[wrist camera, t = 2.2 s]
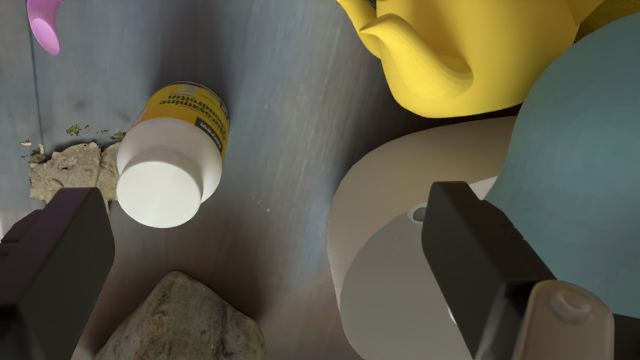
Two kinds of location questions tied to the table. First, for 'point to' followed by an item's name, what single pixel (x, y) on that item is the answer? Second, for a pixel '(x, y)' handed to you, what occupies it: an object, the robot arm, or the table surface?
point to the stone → (184, 327)
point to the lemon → (606, 15)
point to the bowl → (404, 238)
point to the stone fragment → (76, 169)
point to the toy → (582, 166)
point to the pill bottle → (172, 155)
